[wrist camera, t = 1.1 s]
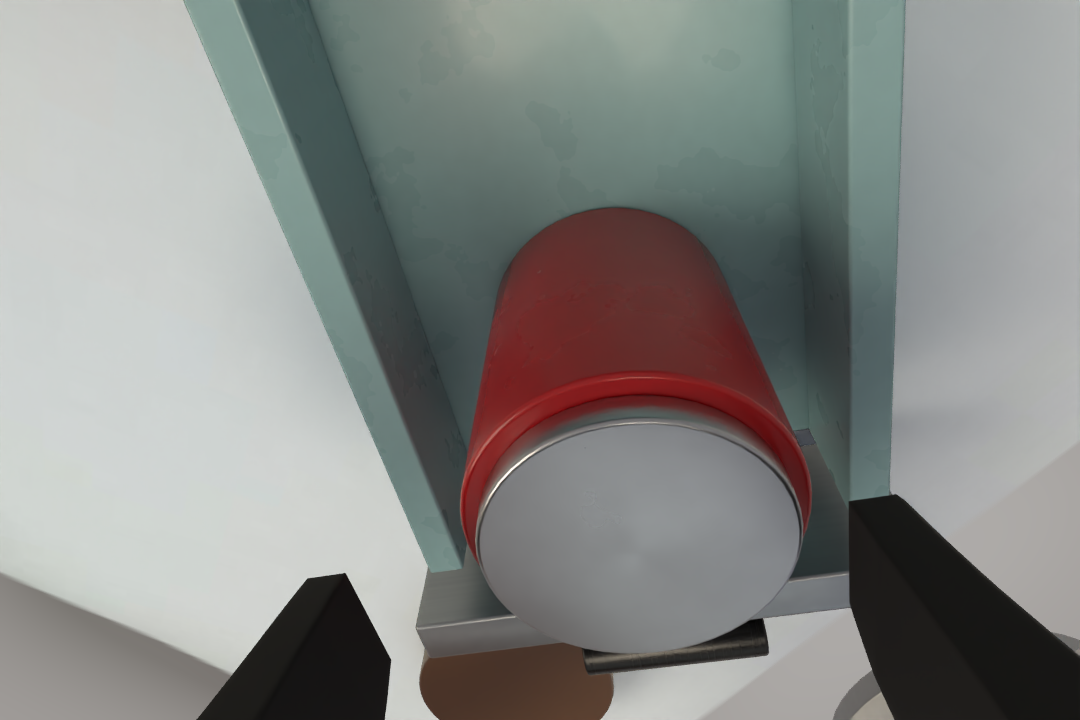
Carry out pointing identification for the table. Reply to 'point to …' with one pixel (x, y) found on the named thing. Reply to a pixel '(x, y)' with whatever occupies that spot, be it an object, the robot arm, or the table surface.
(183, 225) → the table surface
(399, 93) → the drawer
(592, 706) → the stand
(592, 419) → the can
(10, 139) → the table surface
